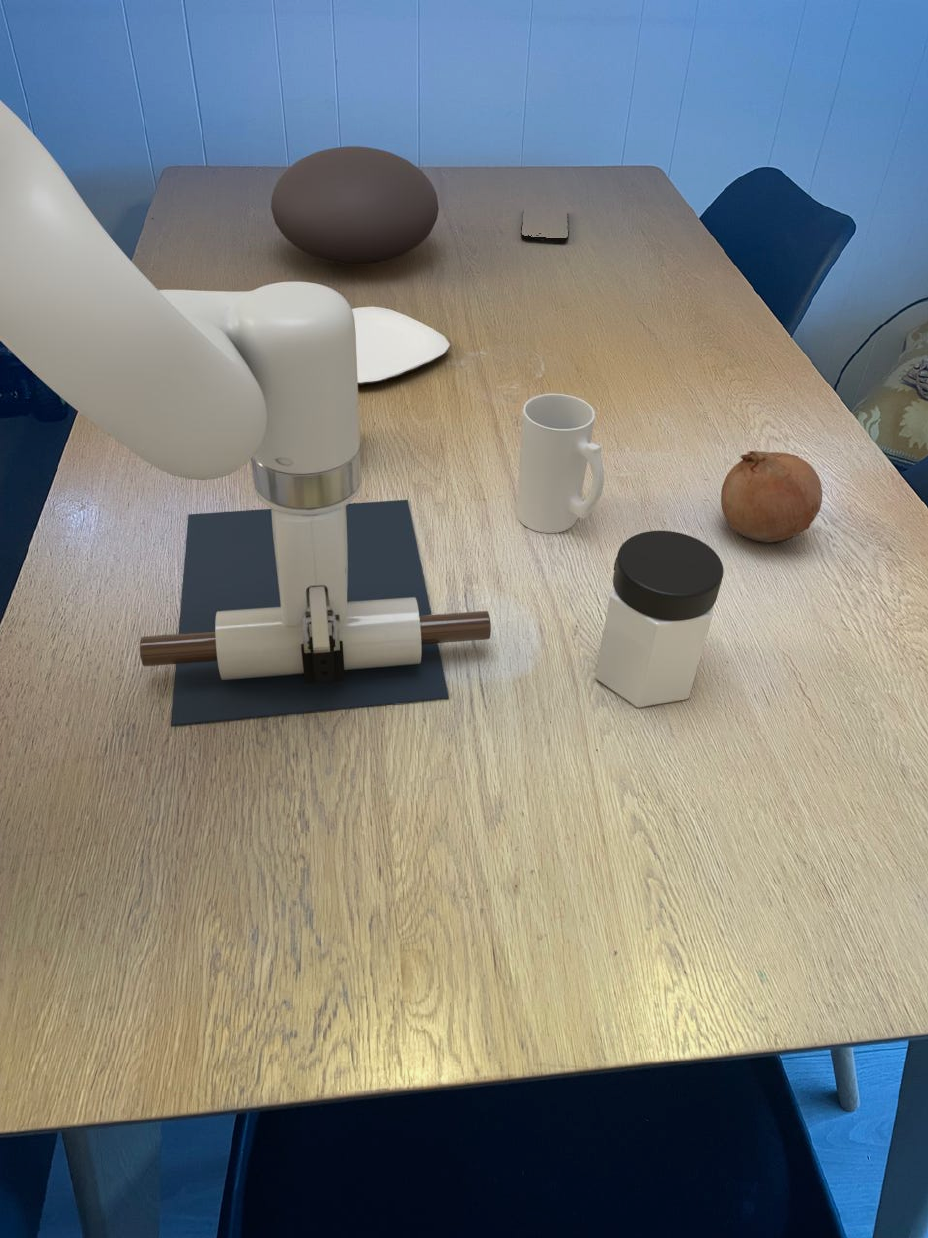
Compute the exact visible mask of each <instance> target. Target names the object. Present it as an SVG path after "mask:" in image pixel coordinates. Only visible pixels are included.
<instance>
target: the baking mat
mask: <svg viewBox="0 0 928 1238" xmlns="http://www.w3.org/2000/svg"><path fill="white" fill-rule="evenodd" d="M187 518H188V519H187V529H186V538H185V539H186V540H185V541H186V542H185V552H184V564H183V575H182V586H181V597H180V610H179V623H178V633H177V634H184V633H197V632H211V631H215V620H216V613H217V611H226V610H239V609H253V608H267V607H281V603H280V593H279V584H278V575H277V566H276V557H275V548H274V539H273V528H272V512H271V508H265V509H248V510H247V509H246V510H233V511H217V512H203V513H190V514H188V516H187ZM346 518H347V545H348V587H347V602H351V601H364V600H378V599H392V598H406V597H415V598H416V600H417V605H418V610H419V616H424V615H433V613H432V610H431V606H430V599H429V595H428V590H427V586H426V581H425V576H424V572H423V565H422V563H421V557H420V552H419V547H418V542H417V538H416V534H415V529H414V523H413V519H412V514H411V510H410V504H409V500H408V499H399V500H384V501H369V502H367V501H366V502H350V503H349V504H348V505H346ZM421 646H422V655H421V663H420V664H415V665H403V666H390V667H378V668H366V669H354V670H345V679H344V680H343V681H339V682H327V683H316V684H307V683H305V679H304V674H294V675H282V676H270V677H257V678H245V679H233V680H222V679H221V676H220V672H219V667H218V661H210V662H197V663H184V664H175V669H174V670H175V671H174V682H173V693H172V703H171V704H172V706H171V715H170V717H171V718H170V727H178V726H189V725H199V724H207V723H220V722H228V721H238V720H248V719H249V720H250V719H258V718H259V719H260V718H268V717H280V716H289V715H299V714H310V713H318V712H319V713H321V712H330V711H331V712H332V711H340V710H352V709H359V708H370V707H381V706H391V705H401V704H411V703H421V702H432V701H440V700H441V701H443V700H449V699H450V694H449V691H448V686H447V685H448V684H447V681H446V675H445V672H444V671H445V670H444V667H443V662H442V661H443V660H442V657H441V652H440V648H439V643H436V644H423V645H421Z"/></svg>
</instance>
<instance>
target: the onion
mask: <svg viewBox="0 0 928 1238" xmlns="http://www.w3.org/2000/svg"><path fill="white" fill-rule="evenodd" d="M739 458H740V459H741V460H740V461H739V462H737V463H736V464H735V465H734V466H732V468H731V469H730V470H729V472H728V473H727V474H726V475H725V478H724V481H723V484H722V485H721V486H722V487H721V491H720V504H721V505H720V506H721V510H722V513H723V517H724V519H725V520H726V522H727V524H728V525H729V526H730V528H731V529H732V530H733V531H734V532H735V533H736V534H738V535H740V536H743V537H745V538H747V539H749V540H753V541H757V542H765V543H773V544H778V543H782V542H783V543H784V542H785V543H787V542H788V541H789V540H793V539H795V538H797V537H799V536H800V535H801V533H803V532H805V531H806V530H808V529H809V528H810V527H811V524H812V523H813V522H814V521H815V520H816V517H817V516H818V514H819V513H820V511H821V507H822V502H823V487H822V482H821V480H820V477H819V475H818V473H817V471H816V469H814V468H813V466H812V465H811V464H810V463H809V462H808V461H807V460H805V459H803V458H801V457H799V456H798V455H795V454H790V453H788V452H777V451H775V452H773V451H769V452H768V451H757V450H750V451H747V452H746V453H745V454H744V453H743V454H740V456H739Z"/></svg>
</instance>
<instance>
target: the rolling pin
mask: <svg viewBox="0 0 928 1238" xmlns="http://www.w3.org/2000/svg"><path fill="white" fill-rule="evenodd" d="M327 610H332V609H331V608H330V606H327ZM306 612H310V607H308V608H307V610H306ZM338 628H339V641H343V655H344V670H354V669H366V668H378V667H390V666H403V665H415V664H420V663H421V655H422V646H421V645H423V644H436V643H438V644H446V643H458V642H461V643H462V642H473V641H485V640H486V641H487V640H490V639H491V635H492V625H491V617H490V613H489V611H488V610H480V611H478V610H477V611H466V612H452V613H440V614H437V613H436V614H432V615H424V616H419V610H418V605H417V600H416V598H415V597H406V598H392V599H378V600H364V601H351V602H347V617H346V618H345V620H344V621H343V622H342V623H339V621H338ZM309 630H310V637H312V627H311V624H309ZM328 630H329V635H332V624H331V622H330V623H328ZM301 644H304V642H303V631H302V622H301V623H300V625H299V627H287V626H285V625H284V624H283V622H282V614H281V607H267V608H253V609H239V610H226V611H217V613H216V620H215V631H211V632H197V633H184V634H178V633H173V634H159V635H147V636H145V635H144V636H141V637H140V640H139V655H140V660H141V664H142V666H143V667H145V668H146V667H158V666H171V665H176V664H184V663H197V662H210V661H218V667H219V672H220V676H221V679H222V680H233V679H245V678H257V677H270V676H282V675H294V674H304V670H303V660H302V651H301Z"/></svg>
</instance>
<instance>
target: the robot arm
mask: <svg viewBox="0 0 928 1238" xmlns="http://www.w3.org/2000/svg"><path fill="white" fill-rule="evenodd" d="M352 309H353V308H352V307H351V305H350V303H349V302H348V300H346V298H345V297H344V296H343V295H342V294H341V293H340V292H338V291H336V290H334V289H333V288H331V287H329V286H326V285H324V284H319V283H315V282H309V281H281V282H274V283H269V284H265V285H263V286H262V285H261V286H260V287H257V288H254V289H253V290H249V291H248V290H247V291H229V290H227V291H226V290H195V289H194V290H193V289H158V288H156V286H155V285H154V284H153V283H152V282H151V281H150V280H149V279H148V278H147V277H146V275H144V274H143V273H142V271H140V269H139V268H138V267H137V266H136V265H135V264H134V263H133V262H132V260H131V259H130V258H129V257H128V256H127V255H126V254H125V253H124V251H123V250H122V249H121V248H120V246H118V244H117V243H116V242H115V241H114V239H113V238H112V237H111V236H110V234H108V232H107V231H106V230H105V228H104V227H103V226H102V224H101V223H100V222H99V221H98V219H97V218H96V217H95V215H94V214H93V213H92V211H91V210H90V208H89V207H88V206H87V204H86V203H85V201H84V200H83V198H82V197H81V195H80V194H79V192H78V191H77V189H76V188H75V187H74V185H73V184H72V182H71V180H70V179H69V177H68V176H67V174H66V173H65V172H64V171H63V169H62V168H61V166H60V164H58V162H57V161H56V160H55V159H54V157H53V156H52V155H51V153H50V152H49V151H48V150H47V148H46V147H45V145H43V143H41V141H40V140H39V139H38V138H37V136H36V135H35V134H34V133H33V132H32V131H31V129H30V128H29V127H28V126H27V125H26V124H25V122H23V120H21V118H20V117H19V116H18V115H17V114H15V113H14V111H12V109H10V108H9V106H7V105H6V104H5V103H4V102H3V101H2V100H1V99H0V342H1V343H2V344H3V345H4V346H5V347H6V348H7V349H8V350H9V351H10V352H11V353H12V354H13V355H14V356H15V357H16V358H18V359H19V360H20V361H21V362H22V363H23V364H24V365H25V366H26V367H27V368H28V369H29V370H30V371H32V373H33V374H34V375H36V376H37V377H38V379H40V380H41V381H42V382H43V384H45V385H46V386H47V387H49V388H50V389H51V390H52V391H53V392H54V393H55V394H56V395H58V396H59V397H60V398H61V399H62V400H64V401H65V402H66V403H67V404H68V405H70V406H71V407H72V408H73V409H75V410H76V412H78V413H80V414H81V415H82V416H83V417H85V418H86V419H87V420H89V421H90V422H91V423H93V425H95V426H96V427H98V428H100V429H101V430H102V431H104V432H105V433H106V434H108V435H109V436H111V437H112V438H113V439H114V440H115V441H117V442H118V443H119V444H121V445H123V446H124V447H125V448H126V449H128V450H129V451H131V452H132V453H134V454H135V455H136V456H137V457H139V458H140V459H141V460H143V461H144V462H146V463H147V464H149V465H151V466H153V467H155V468H156V469H158V470H160V471H162V472H165V473H167V474H169V475H172V476H174V477H178V478H182V479H186V480H196V481H207V480H216V479H220V478H223V477H228V476H229V475H231V474H234V473H235V472H237V471H239V470H240V469H241V468H243V467H244V466H246V464H248V463H249V462H251V470H252V477H253V484H254V485H253V486H254V491H255V494H256V497H257V498H258V499H259V501H260V502H261V503H262V504H263V505H265V506H266V507H267V508H268V509H271V512H272V528H273V539H274V548H275V557H276V566H277V575H278V584H279V593H280V603H281V614H282V622H283V624H284V625H285V626H287V627H299V625H300V623H301V622H302V631H303V642H304V644H301V651H302V660H303V670H304V679H305V683H307V684H316V683H327V682H339V681H343V680H344V679H345V670H344V655H343V641H339V628H338V621H339V623H342V622H343V621H344V620H345V618H346V617H347V587H348V545H347V518H346V505H348V504H351V503H353V501H354V500H355V499H356V498H357V497H358V496H359V494H360V492H361V490H362V486H363V485H362V483H363V481H362V480H363V479H362V459H361V457H362V456H361V436H360V435H361V433H360V409H359V407H360V406H359V405H360V404H359V384H358V379H357V354H356V331H355V320H354V315H353V312H352ZM327 606H330V608H331V609H332V610H327ZM308 607H310V612H306V610H307V608H308ZM330 622H331V624H332V635H329V630H328V623H330ZM309 624H311V627H312V637H310V630H309Z"/></svg>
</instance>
